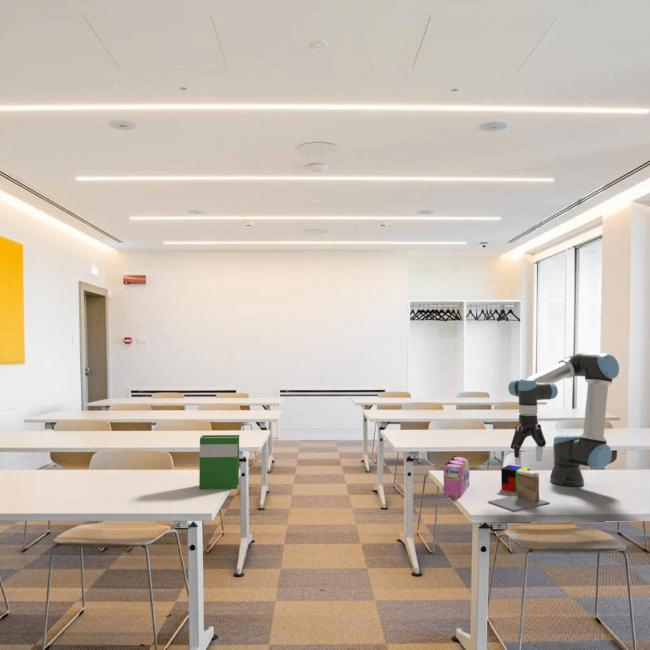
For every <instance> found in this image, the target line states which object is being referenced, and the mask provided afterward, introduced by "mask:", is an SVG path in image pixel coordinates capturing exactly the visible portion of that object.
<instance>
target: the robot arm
mask: <svg viewBox="0 0 650 650" xmlns="http://www.w3.org/2000/svg"><path fill="white" fill-rule="evenodd" d="M619 373H620V366H619V362H618V360H617V359H616V357H615V356H614V355H612V354H609V353H599V352H598V353H595V352H593V353H590V352H588V353H587V352H580V353H577V354H573V355H570V356H567V357H566V358H563V359H560V360H559V361H558V363H557V364H555V365H552V366H550V367H548V368H546V369H544V370H541V371H539V372H537V373H534V374H532V375H529V376H527V377H526V378H521V379H519V380H518V379H517V380H511V381H509V384H508V387H507V388H508V393H509V394H510V395H511V396H513V397H517V398H518V413H519V414H518V422H519V424H520V426H517V425H515V428H514V429H515V431H514V433H513V437H512V441H511V444H510V449H512V450H514V451H513V452H514V453H513V455H514V464H515V466H520V467H522V449H521V448H522V446H523V444H524V442H525V440H526V438H528V437H530V436H531V438H532V439H533V441H534V442H535V444H536V446H535V461H537V462H541V463H542V462H543V448H545V447H546V445H547V441H546V439H545V436H544V433H543V431H542V425H541V424H540V423H539V424H538V415H537V414H538V401H541V400H542V401H545V400H548V401H549V400H553V399H555V398H556V397H557V396H558V393H559V392H558V388H557V385H555V383H557V382H559V381H561V380H563V379H570V378H574V377H584V381H585V382H586V383H587V389H586V400H585V401H586V403H585V410H584V412H585V413H584V422H583V431H582V433H581V434H580V435H577V434H576V435H575V434H574V435H573V434H572V435H566V434H565V435H556V436H554V437H553V444H552V445H553V447H552V448H553V467H552V469H551V470H552V471H551V473H550V477H549V478H550V480H549V481H550V482H551V483H553V484H556V485H560V486H564V487H581V486H584V485H585V479H584V477H583V473H582V471H581V467H580V466H585V467H588V468H591V469H597V470H598V469H599V470H600V469H604V468H606V467H607V466H608V465H609V463H610V462H611V460H612V456H613V455H612V453H613V452H612V450H611V447H610V445H607V444H608V441H607V439H606V438H605V436H604V435H605V424H606V414H607V413H606V412H607V403H608V402H607V400H608V390H609V386H610V385H612V383H613V380H614V379H616V378H617V377H618V375H619Z"/></svg>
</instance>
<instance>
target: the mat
mask: <svg viewBox="0 0 650 650" xmlns="http://www.w3.org/2000/svg"><path fill="white" fill-rule="evenodd" d="M487 503H488V504H491V505H493V504H494V506H497V507H500V508H501V509H504V510H508V511H510V510H511V512H520V511H523V510H527V509H532V508H537V507H541V506H546V505H549V504H550V502H549V501H546V500H543V499H540V498H539V502H535V503H532V502H529V501H526V500H522V499H519V498H518V494H517V495H511V496H507V497H503V498H501V497H500V498H496V499H491V500H488V501H487Z"/></svg>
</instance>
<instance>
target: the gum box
mask: <svg viewBox="0 0 650 650" xmlns="http://www.w3.org/2000/svg"><path fill="white" fill-rule="evenodd" d="M469 461H470V460H469V456H466V457H459V456H457V455H453V456H452V457H451V458H449V460H448V461H447V462H446V463H445V464H443V496H448V497H453V498H454V497H455V498H462V496H463V495H464V493H465V492H466V491H467V488H469V486H470V466H469V465H470V463H469Z"/></svg>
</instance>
